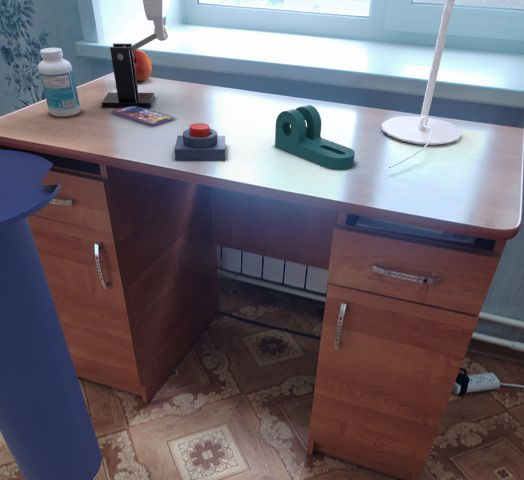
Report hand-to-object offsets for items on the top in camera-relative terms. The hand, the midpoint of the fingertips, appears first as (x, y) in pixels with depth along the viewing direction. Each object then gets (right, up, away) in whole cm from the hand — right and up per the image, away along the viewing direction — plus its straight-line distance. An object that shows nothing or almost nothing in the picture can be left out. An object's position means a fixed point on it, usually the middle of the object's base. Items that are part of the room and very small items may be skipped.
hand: (161, 36), depth 121 cm
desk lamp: (+59, -30, -10) cm, 67 cm away
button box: (+11, -34, -16) cm, 39 cm away
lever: (-4, -2, +2) cm, 5 cm away
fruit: (-11, +3, +25) cm, 28 cm away
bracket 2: (+35, -34, -15) cm, 52 cm away
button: (+11, -31, -18) cm, 38 cm away
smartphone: (-5, -19, +2) cm, 19 cm away
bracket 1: (-10, -11, +9) cm, 18 cm away
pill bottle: (-24, -18, +2) cm, 30 cm away
